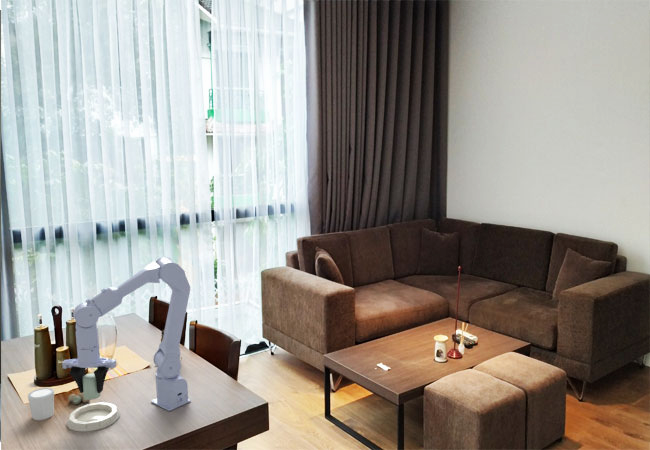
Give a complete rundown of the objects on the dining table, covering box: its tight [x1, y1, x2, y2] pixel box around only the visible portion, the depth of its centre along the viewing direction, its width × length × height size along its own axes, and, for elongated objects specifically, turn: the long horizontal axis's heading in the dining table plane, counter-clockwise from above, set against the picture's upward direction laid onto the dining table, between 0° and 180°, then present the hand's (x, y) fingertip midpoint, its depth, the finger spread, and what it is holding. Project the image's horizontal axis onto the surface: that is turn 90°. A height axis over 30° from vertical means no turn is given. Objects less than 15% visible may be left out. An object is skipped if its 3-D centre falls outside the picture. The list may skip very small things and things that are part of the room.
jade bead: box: [82, 372, 101, 401], centre depth 159 cm, size 4×4×6 cm
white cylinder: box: [27, 387, 55, 421], centre depth 162 cm, size 7×7×7 cm
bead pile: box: [67, 392, 91, 405], centre depth 170 cm, size 6×5×2 cm
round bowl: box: [66, 401, 121, 433], centre depth 160 cm, size 14×14×2 cm
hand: (91, 391), depth 159 cm, fingers closed on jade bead, 4 cm apart
